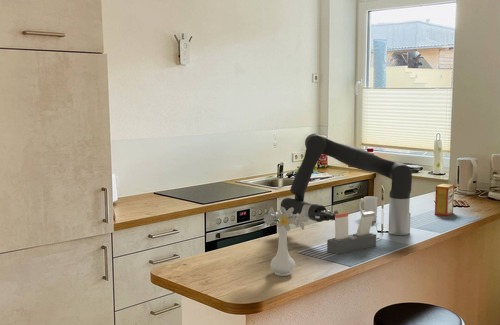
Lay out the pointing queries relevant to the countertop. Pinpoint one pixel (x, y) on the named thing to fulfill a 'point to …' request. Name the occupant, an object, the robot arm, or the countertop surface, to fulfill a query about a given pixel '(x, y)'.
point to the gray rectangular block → (351, 243)
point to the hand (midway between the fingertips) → (340, 218)
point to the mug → (369, 205)
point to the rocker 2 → (365, 223)
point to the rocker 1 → (341, 225)
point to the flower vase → (283, 237)
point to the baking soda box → (444, 199)
